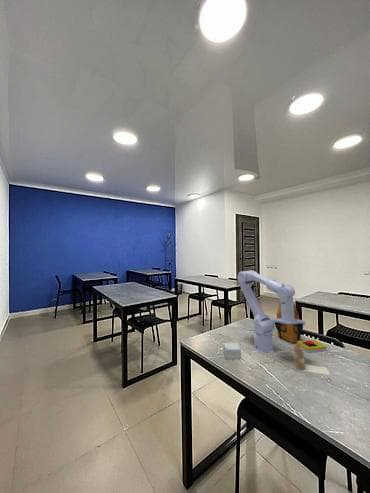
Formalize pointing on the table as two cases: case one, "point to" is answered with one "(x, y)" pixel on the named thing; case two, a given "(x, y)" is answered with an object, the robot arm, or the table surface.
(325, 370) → the rubber mat
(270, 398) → the table surface
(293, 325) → the coffee package
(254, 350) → the robot arm
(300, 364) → the wooden block
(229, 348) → the small box
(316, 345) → the emergency button
